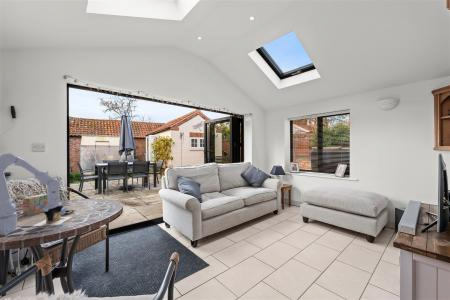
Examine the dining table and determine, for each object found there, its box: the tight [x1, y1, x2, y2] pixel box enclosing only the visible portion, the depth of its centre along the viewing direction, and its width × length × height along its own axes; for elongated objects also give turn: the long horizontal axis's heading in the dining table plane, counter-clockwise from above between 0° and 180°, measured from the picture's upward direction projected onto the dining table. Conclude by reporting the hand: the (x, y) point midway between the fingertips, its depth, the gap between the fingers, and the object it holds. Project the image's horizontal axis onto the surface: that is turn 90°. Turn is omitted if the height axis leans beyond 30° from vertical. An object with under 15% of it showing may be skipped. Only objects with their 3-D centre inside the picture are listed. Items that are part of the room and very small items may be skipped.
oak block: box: [45, 212, 62, 223], centre depth 121 cm, size 5×5×5 cm
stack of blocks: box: [22, 193, 62, 216], centre depth 144 cm, size 21×6×12 cm, turn 170°
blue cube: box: [61, 207, 67, 217], centre depth 133 cm, size 4×4×4 cm
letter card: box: [33, 216, 72, 227], centre depth 121 cm, size 14×14×1 cm
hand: (53, 219), depth 121 cm, fingers closed on oak block, 5 cm apart
